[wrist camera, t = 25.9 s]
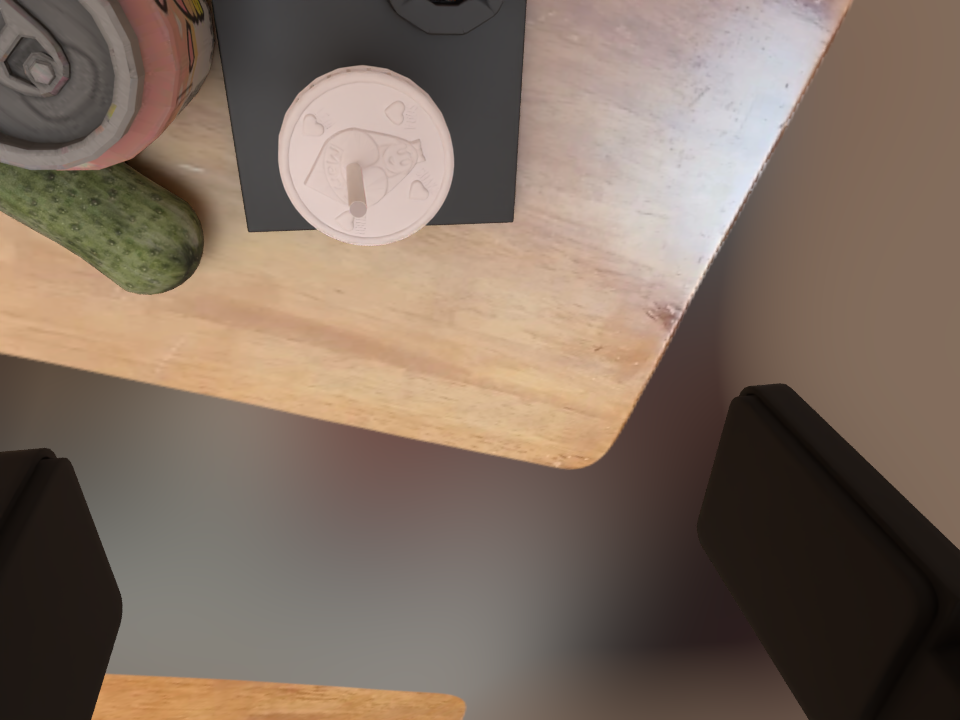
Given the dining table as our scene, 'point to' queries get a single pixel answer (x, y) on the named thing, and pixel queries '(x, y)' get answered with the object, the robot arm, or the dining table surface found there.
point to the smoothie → (365, 155)
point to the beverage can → (96, 77)
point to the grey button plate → (386, 44)
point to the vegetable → (109, 222)
